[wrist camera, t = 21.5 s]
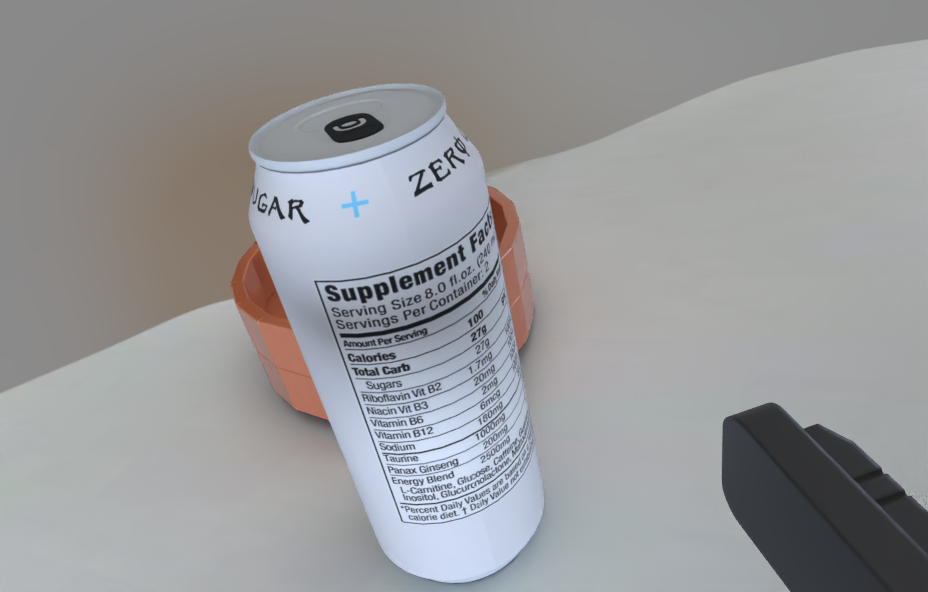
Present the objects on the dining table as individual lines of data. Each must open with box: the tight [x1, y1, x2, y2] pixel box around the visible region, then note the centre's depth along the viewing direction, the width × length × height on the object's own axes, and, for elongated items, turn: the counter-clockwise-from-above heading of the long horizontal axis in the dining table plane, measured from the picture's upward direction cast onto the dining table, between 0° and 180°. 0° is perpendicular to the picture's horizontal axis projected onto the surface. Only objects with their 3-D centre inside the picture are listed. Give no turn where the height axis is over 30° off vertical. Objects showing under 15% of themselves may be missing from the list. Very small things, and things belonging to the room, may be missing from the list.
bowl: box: [231, 186, 534, 420], centre depth 34 cm, size 13×13×6 cm
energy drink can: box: [248, 83, 544, 583], centre depth 21 cm, size 6×6×15 cm
